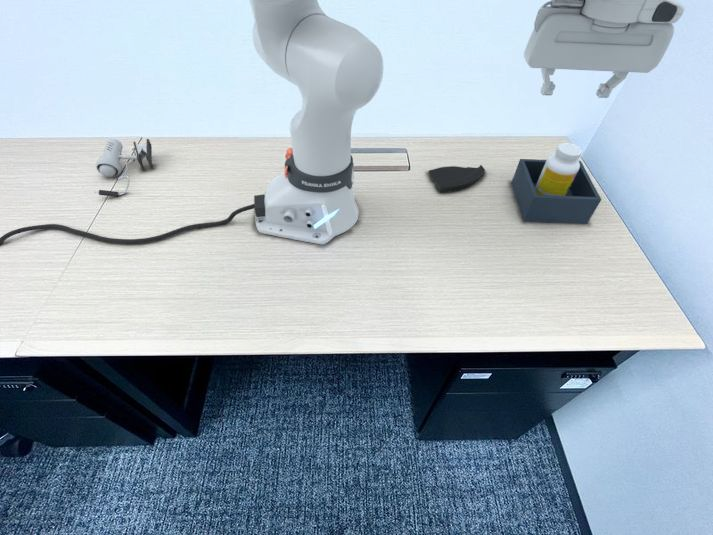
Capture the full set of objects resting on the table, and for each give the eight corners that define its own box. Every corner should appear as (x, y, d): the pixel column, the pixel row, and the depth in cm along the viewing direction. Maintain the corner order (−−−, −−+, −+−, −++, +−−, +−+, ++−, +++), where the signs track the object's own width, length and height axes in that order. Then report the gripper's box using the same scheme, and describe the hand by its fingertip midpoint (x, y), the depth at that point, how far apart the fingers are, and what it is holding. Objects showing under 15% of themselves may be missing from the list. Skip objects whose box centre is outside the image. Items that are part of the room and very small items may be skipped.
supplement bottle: (563, 210, 88) (589, 160, 78) (532, 205, 89) (554, 155, 79) (560, 191, 92) (585, 142, 83) (531, 187, 93) (552, 137, 84)
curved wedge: (492, 186, 95) (494, 180, 94) (438, 193, 93) (439, 188, 92) (477, 165, 100) (479, 160, 99) (426, 172, 98) (427, 167, 97)
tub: (523, 221, 87) (534, 197, 82) (511, 183, 96) (520, 158, 90) (586, 224, 86) (601, 199, 81) (568, 185, 95) (580, 160, 90)
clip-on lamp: (146, 205, 94) (158, 149, 103) (137, 188, 89) (149, 130, 97) (93, 205, 93) (108, 147, 101) (79, 187, 87) (97, 128, 95)
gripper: (548, 4, 55) (516, 101, 66) (697, 10, 55) (641, 106, 65) (537, -9, 59) (508, 84, 70) (674, -4, 59) (625, 89, 70)
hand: (573, 95), depth 68 cm, fingers open, 8 cm apart
